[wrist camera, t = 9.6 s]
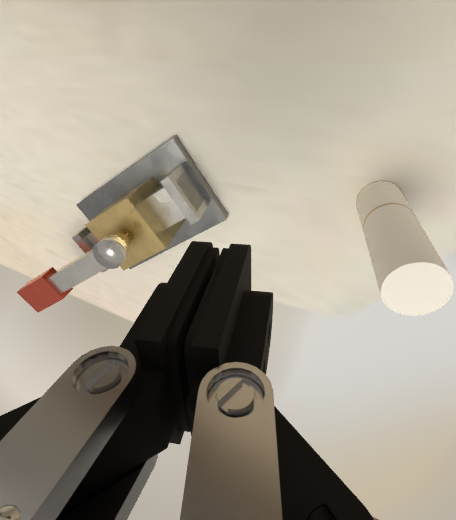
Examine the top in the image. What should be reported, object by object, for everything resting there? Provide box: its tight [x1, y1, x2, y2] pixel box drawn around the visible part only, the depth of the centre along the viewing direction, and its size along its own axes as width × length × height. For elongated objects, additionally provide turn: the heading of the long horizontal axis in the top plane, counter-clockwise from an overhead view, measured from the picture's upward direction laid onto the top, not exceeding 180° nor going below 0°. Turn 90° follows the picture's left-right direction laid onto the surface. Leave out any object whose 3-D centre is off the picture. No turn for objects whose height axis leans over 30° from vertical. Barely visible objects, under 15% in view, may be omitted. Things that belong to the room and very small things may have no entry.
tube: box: [356, 181, 454, 316], centre depth 29 cm, size 4×4×15 cm
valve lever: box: [17, 235, 129, 312], centre depth 35 cm, size 14×3×2 cm, turn 124°
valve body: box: [72, 136, 228, 272], centre depth 37 cm, size 10×15×9 cm, turn 123°
